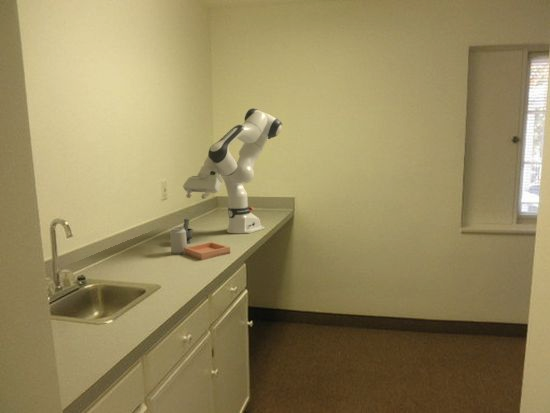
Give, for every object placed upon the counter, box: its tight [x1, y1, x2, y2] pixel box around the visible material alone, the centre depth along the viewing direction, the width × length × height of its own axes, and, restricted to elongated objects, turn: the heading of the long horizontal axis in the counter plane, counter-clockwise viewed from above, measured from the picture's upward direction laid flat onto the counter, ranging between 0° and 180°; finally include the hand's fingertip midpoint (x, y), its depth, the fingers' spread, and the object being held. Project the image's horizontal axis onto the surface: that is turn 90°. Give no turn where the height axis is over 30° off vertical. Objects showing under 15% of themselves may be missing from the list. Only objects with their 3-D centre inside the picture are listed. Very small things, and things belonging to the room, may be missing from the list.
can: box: [169, 226, 188, 255], centre depth 199 cm, size 8×8×12 cm
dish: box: [183, 241, 231, 261], centre depth 196 cm, size 15×15×3 cm
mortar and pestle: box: [182, 218, 194, 245], centre depth 219 cm, size 11×9×12 cm
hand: (195, 197), depth 208 cm, fingers open, 8 cm apart
